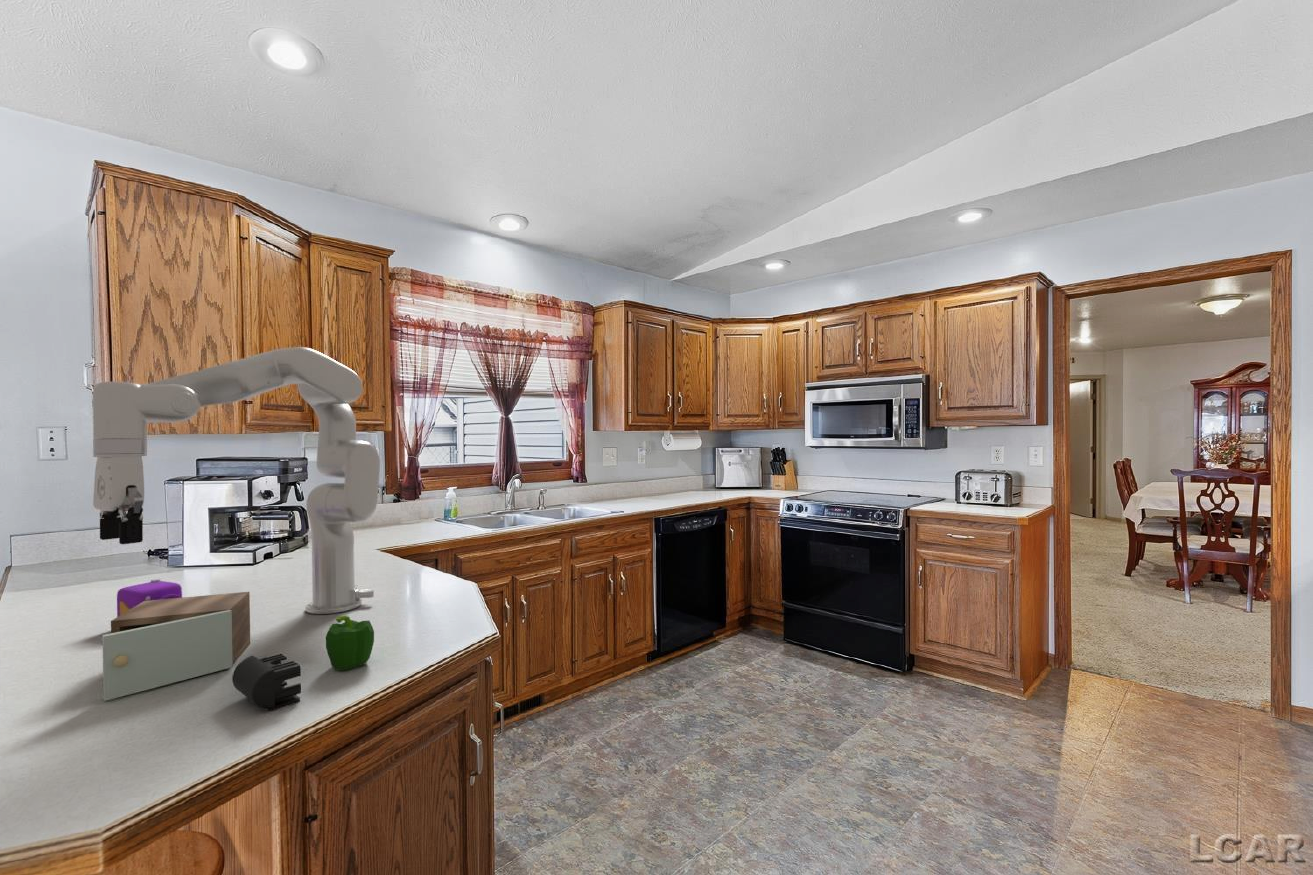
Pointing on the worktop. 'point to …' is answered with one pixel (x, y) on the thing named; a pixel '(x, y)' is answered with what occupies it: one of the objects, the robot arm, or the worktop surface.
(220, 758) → the worktop surface
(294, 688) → the end cap
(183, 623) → the door
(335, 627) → the bell pepper
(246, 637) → the cabinet
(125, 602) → the toy camera
